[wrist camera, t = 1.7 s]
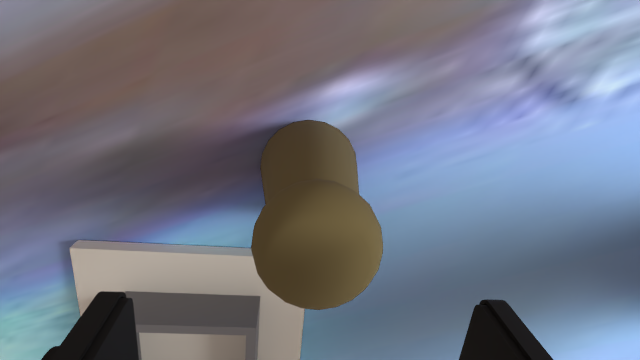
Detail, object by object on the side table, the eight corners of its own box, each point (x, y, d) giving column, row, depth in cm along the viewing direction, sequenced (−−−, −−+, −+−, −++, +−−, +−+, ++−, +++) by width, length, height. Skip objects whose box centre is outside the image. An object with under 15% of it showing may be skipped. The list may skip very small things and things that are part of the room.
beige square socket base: (309, 250, 26) (311, 287, 22) (293, 408, 31) (293, 459, 28) (77, 240, 25) (39, 277, 21) (103, 406, 30) (76, 459, 26)
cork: (241, 178, 24) (202, 289, 14) (297, 99, 22) (299, 156, 12) (319, 227, 25) (336, 358, 15) (376, 156, 24) (437, 249, 14)
